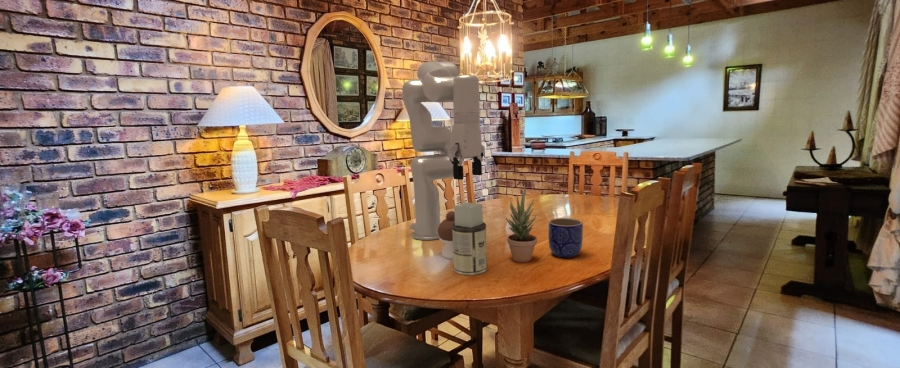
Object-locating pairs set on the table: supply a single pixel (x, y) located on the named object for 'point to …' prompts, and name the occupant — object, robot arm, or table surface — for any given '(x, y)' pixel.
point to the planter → (565, 237)
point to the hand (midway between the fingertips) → (467, 177)
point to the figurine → (447, 235)
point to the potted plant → (521, 232)
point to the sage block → (468, 214)
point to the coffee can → (469, 249)
